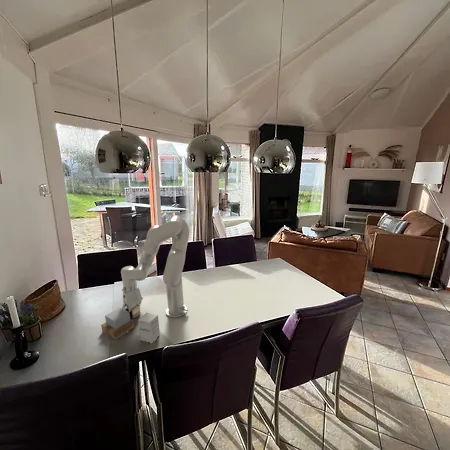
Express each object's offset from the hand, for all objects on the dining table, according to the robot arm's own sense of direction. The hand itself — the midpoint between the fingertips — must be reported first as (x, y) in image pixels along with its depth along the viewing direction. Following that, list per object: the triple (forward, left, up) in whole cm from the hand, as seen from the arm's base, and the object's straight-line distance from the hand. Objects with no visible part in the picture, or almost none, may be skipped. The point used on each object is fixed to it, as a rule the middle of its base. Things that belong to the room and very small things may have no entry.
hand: (134, 314), depth 156 cm
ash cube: (0, 0, -1) cm, 1 cm away
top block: (-4, +13, +4) cm, 14 cm away
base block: (-4, +14, -1) cm, 14 cm away
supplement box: (-25, +9, -1) cm, 26 cm away
